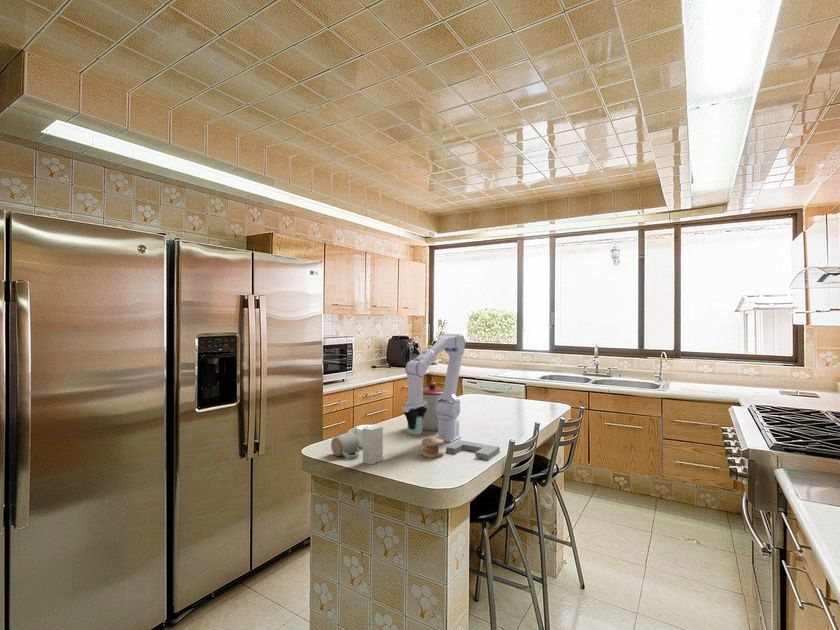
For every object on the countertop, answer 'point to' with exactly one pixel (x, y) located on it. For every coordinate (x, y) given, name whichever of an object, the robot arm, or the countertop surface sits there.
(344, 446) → the ceramic mug
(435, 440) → the bobbin
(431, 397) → the canister
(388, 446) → the countertop surface
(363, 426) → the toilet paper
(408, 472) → the countertop surface
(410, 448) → the countertop surface
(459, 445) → the gray u-shaped block
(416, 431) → the tab block
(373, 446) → the skincare box
